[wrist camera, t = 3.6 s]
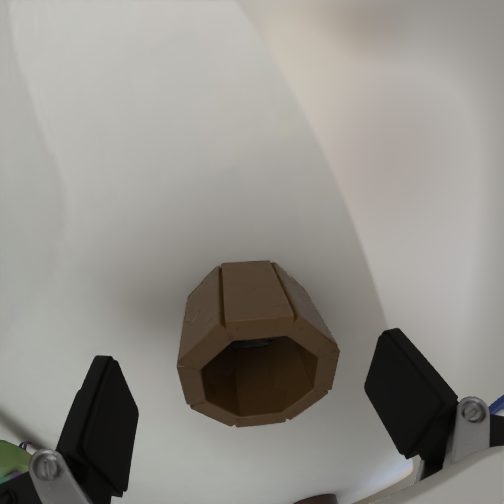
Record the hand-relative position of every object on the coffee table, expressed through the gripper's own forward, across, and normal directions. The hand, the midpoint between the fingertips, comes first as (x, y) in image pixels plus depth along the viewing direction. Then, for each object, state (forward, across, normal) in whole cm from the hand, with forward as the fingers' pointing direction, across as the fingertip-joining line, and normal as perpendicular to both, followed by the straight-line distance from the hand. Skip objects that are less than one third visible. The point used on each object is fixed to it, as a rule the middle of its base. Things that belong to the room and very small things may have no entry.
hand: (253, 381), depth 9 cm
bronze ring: (+5, 0, 0) cm, 5 cm away
